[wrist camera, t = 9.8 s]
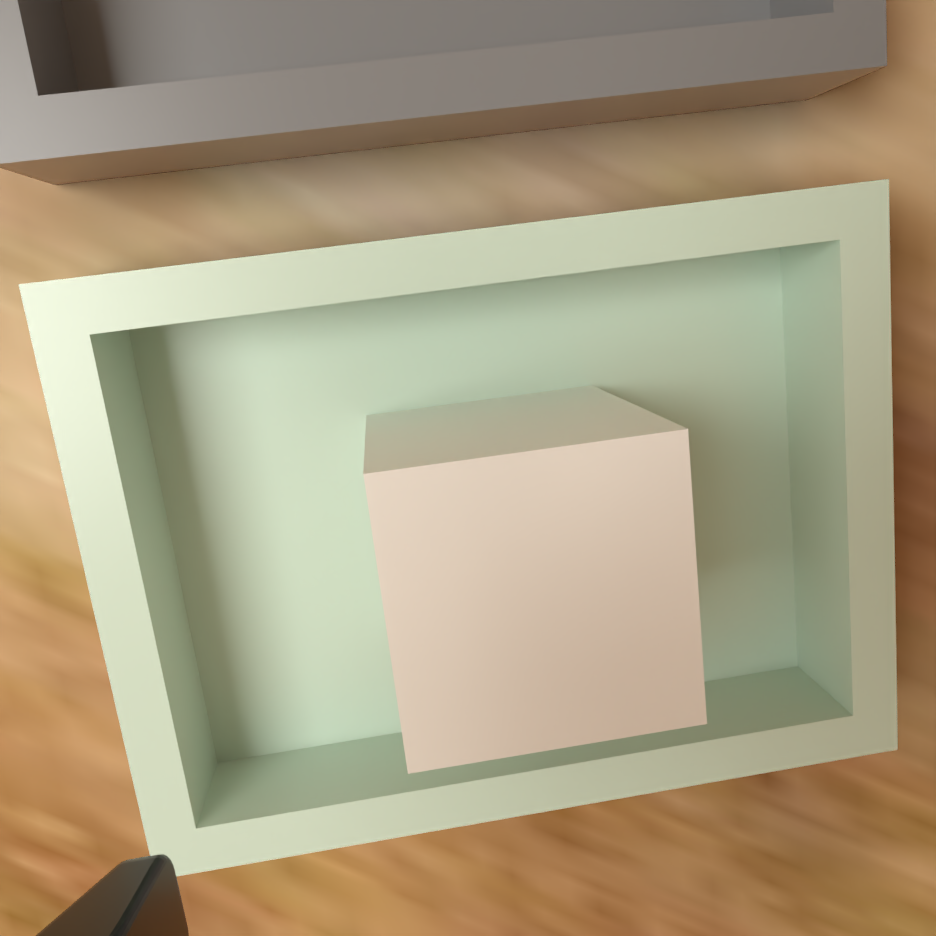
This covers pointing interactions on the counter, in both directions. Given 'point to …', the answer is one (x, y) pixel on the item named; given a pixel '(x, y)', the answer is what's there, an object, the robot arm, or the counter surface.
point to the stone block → (535, 573)
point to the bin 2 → (449, 382)
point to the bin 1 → (388, 72)
